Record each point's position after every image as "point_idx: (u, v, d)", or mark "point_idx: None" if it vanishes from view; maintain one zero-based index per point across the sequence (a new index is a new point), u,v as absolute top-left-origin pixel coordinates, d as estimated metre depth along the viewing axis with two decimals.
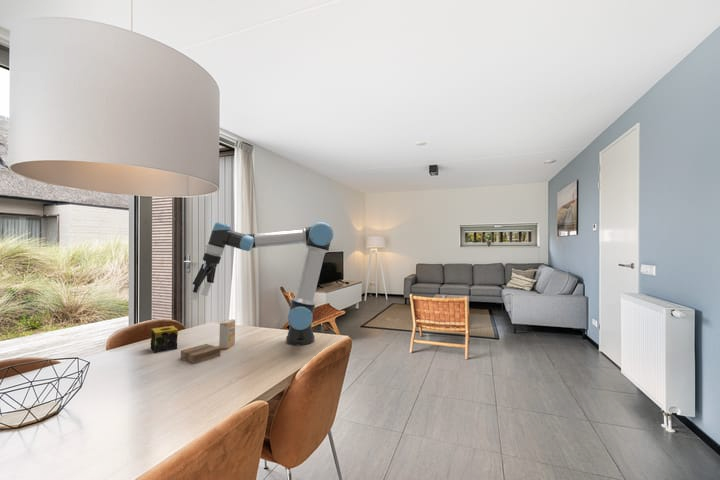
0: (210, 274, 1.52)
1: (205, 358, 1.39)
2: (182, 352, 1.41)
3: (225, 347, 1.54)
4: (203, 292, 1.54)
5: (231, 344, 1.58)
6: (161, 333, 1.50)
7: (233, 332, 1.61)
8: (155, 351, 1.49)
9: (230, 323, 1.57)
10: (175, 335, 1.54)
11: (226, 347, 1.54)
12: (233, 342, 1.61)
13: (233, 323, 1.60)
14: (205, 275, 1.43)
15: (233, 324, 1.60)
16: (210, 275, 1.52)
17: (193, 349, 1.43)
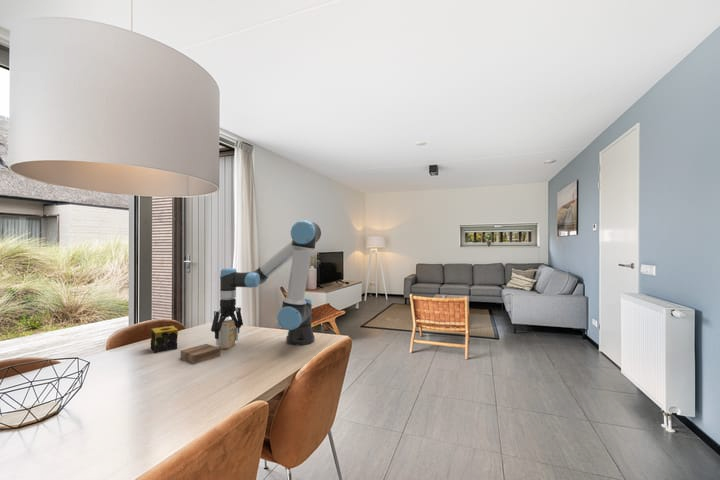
0: (233, 318, 1.61)
1: (205, 358, 1.39)
2: (182, 352, 1.41)
3: (225, 347, 1.55)
4: None
5: (231, 344, 1.58)
6: (161, 333, 1.50)
7: (233, 332, 1.61)
8: (155, 351, 1.49)
9: (230, 323, 1.57)
10: (175, 335, 1.54)
11: (226, 347, 1.55)
12: (233, 342, 1.61)
13: (233, 323, 1.60)
14: (221, 321, 1.55)
15: (233, 324, 1.60)
16: (233, 319, 1.61)
17: (193, 349, 1.43)
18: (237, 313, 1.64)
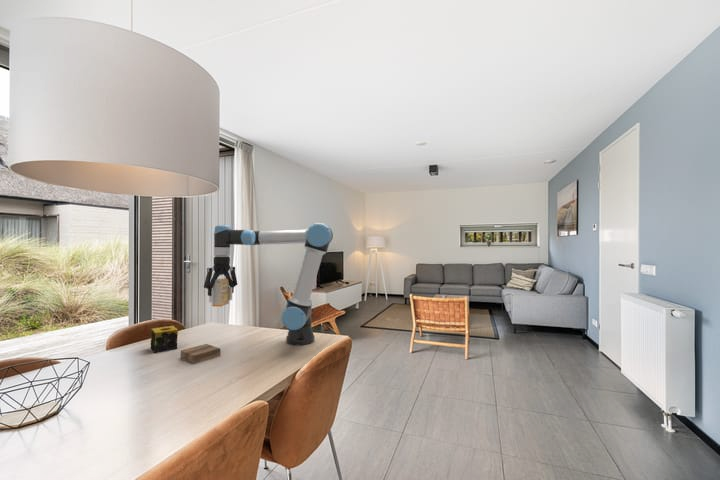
0: (227, 277, 1.57)
1: (205, 358, 1.39)
2: (182, 352, 1.41)
3: (218, 304, 1.51)
4: None
5: (225, 302, 1.55)
6: (161, 333, 1.50)
7: (227, 290, 1.57)
8: (155, 351, 1.49)
9: (223, 281, 1.54)
10: (175, 335, 1.54)
11: (219, 304, 1.51)
12: (227, 301, 1.57)
13: (227, 282, 1.57)
14: (215, 278, 1.52)
15: (227, 283, 1.57)
16: (227, 278, 1.58)
17: (193, 349, 1.43)
18: (231, 272, 1.60)
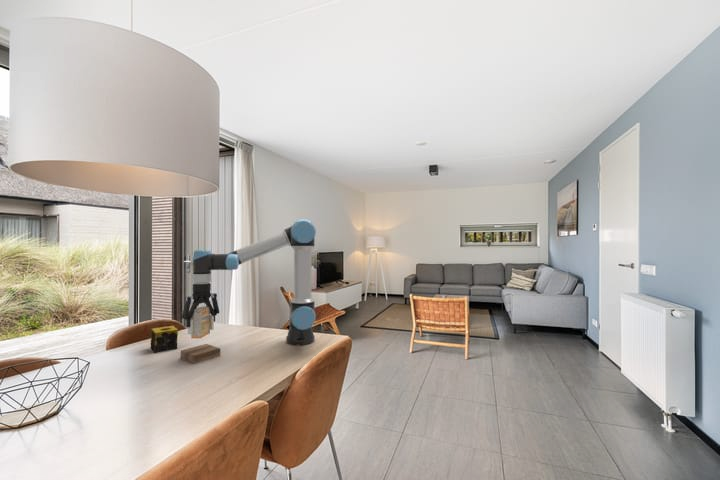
0: (208, 305, 1.46)
1: (205, 358, 1.39)
2: (182, 352, 1.41)
3: (198, 336, 1.39)
4: None
5: (205, 333, 1.43)
6: (161, 333, 1.50)
7: (208, 320, 1.45)
8: (155, 351, 1.49)
9: (204, 310, 1.42)
10: (175, 335, 1.54)
11: (199, 336, 1.39)
12: (208, 331, 1.45)
13: (208, 310, 1.45)
14: (194, 307, 1.40)
15: (208, 311, 1.45)
16: (208, 306, 1.46)
17: (193, 349, 1.43)
18: (213, 299, 1.48)
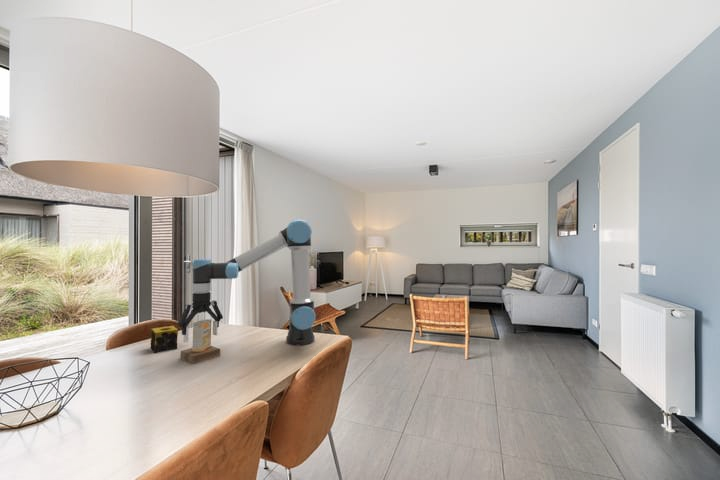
0: (209, 312, 1.46)
1: (205, 359, 1.39)
2: (182, 352, 1.41)
3: (199, 350, 1.40)
4: (213, 332, 1.49)
5: (206, 347, 1.44)
6: (161, 333, 1.50)
7: (209, 333, 1.46)
8: (155, 351, 1.49)
9: (205, 324, 1.42)
10: (175, 335, 1.54)
11: (200, 350, 1.40)
12: (208, 344, 1.46)
13: (209, 323, 1.45)
14: (192, 315, 1.39)
15: (209, 325, 1.45)
16: (210, 313, 1.47)
17: None
18: (214, 307, 1.49)
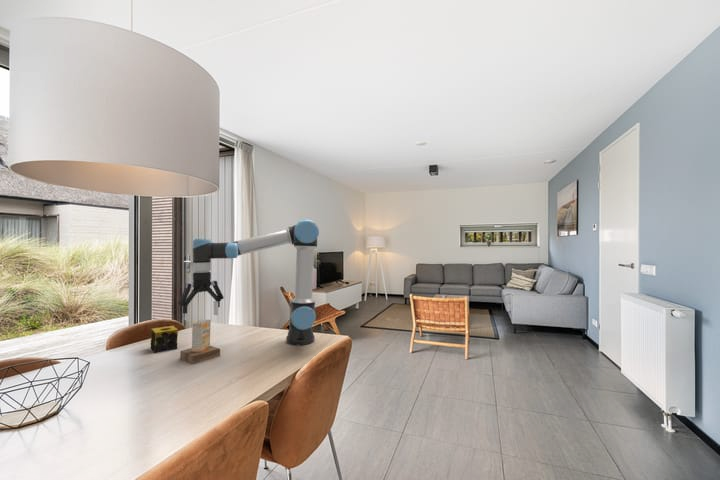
0: (210, 292, 1.47)
1: (205, 359, 1.39)
2: (182, 352, 1.41)
3: (198, 350, 1.39)
4: (214, 312, 1.49)
5: (205, 347, 1.43)
6: (161, 333, 1.50)
7: (208, 333, 1.45)
8: (155, 351, 1.49)
9: (204, 324, 1.42)
10: (175, 335, 1.54)
11: (199, 350, 1.39)
12: (208, 345, 1.46)
13: (208, 324, 1.45)
14: (192, 294, 1.39)
15: (208, 325, 1.45)
16: (211, 293, 1.47)
17: None
18: (214, 287, 1.49)
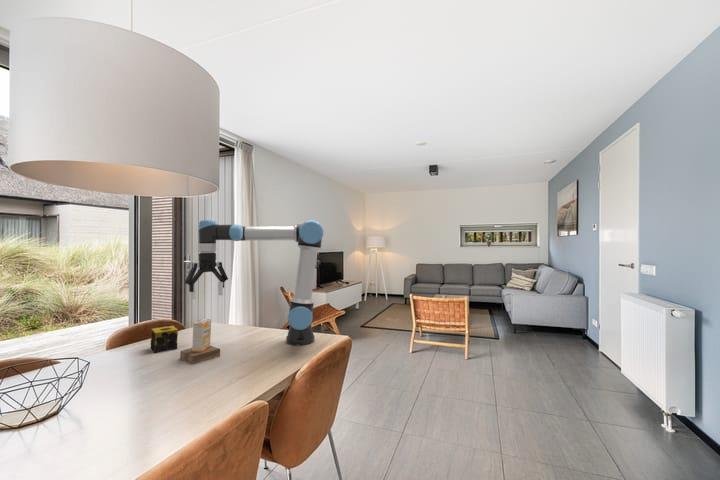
0: (215, 273, 1.51)
1: (205, 359, 1.39)
2: (182, 352, 1.41)
3: (199, 350, 1.40)
4: (219, 292, 1.54)
5: (206, 346, 1.44)
6: (161, 333, 1.50)
7: (209, 333, 1.46)
8: (155, 351, 1.49)
9: (205, 323, 1.42)
10: (175, 335, 1.54)
11: (200, 350, 1.40)
12: (208, 344, 1.46)
13: (209, 323, 1.45)
14: (199, 274, 1.44)
15: (209, 324, 1.45)
16: (216, 274, 1.51)
17: None
18: (219, 268, 1.53)
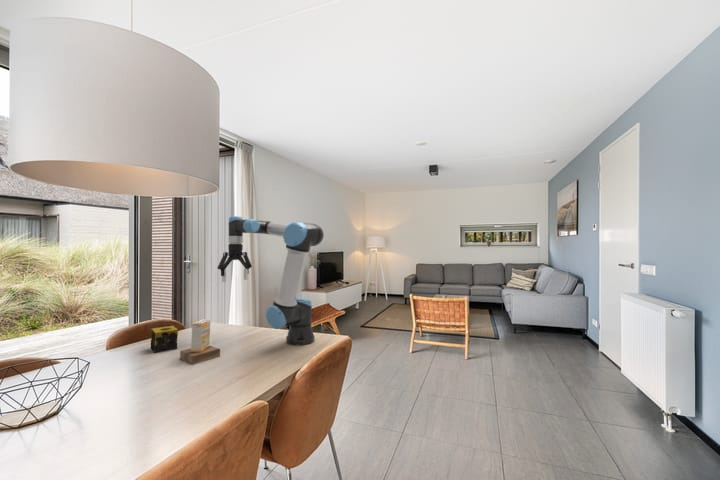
0: (241, 261, 1.79)
1: (205, 359, 1.39)
2: (181, 352, 1.40)
3: (198, 350, 1.39)
4: (244, 277, 1.82)
5: (205, 346, 1.43)
6: (162, 333, 1.50)
7: (208, 333, 1.45)
8: (155, 351, 1.49)
9: (204, 323, 1.42)
10: (175, 335, 1.54)
11: (199, 350, 1.39)
12: (207, 344, 1.46)
13: (208, 323, 1.45)
14: (228, 261, 1.72)
15: (208, 325, 1.45)
16: (242, 262, 1.79)
17: None
18: (244, 257, 1.81)
